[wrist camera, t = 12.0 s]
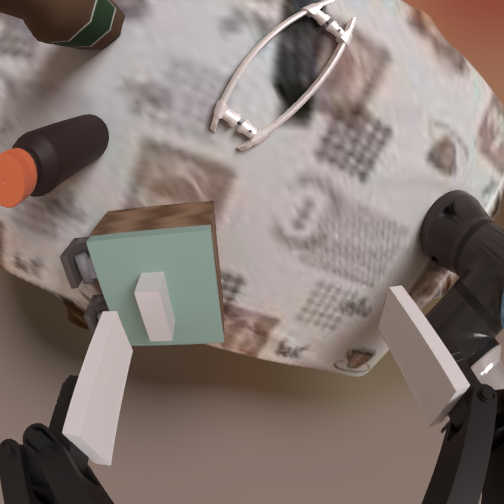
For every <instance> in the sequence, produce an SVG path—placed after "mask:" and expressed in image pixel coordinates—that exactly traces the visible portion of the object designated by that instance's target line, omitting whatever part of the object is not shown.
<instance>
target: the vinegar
mask: <svg viewBox="0 0 504 504" xmlns="http://www.w3.org/2000/svg"><path fill="white" fill-rule="evenodd" d="M108 140H109V133H108V129H107V126H106V124H105V123H104V122H103V121H102V119H100V118H99V117H97V116H95V115H90V114H88V115H82V116H78V117H74V118H71V119H67V120H64V121H60V122H57V123H54V124H51V125H48V126H44V127H41V128H38V129H35V130H33V131H30V132H27V133H25V134H24V135H22V136H21V137H19V138H18V140H17V141H16V142H15V144H14V145H13V147H12V149H10V150H7V151H5V152H3V153H1V154H0V205H2V206H4V207H7V208H8V207H10V208H11V207H14V206H16V205H18V204H19V203H20V202H22V201H23V200H24V199H26V198H27V197H28V196H33V197H36V196H43V195H45V194H47V193H49V192H50V191H52V190H53V189H54V188H56V187H57V186H58V185H60V184H61V183H63V182H64V181H65V180H67V179H68V178H69V177H71V176H72V175H74V174H75V173H76V172H78V171H79V170H81V169H82V168H84V167H85V166H87V165H88V164H90V163H91V162H93V161H94V160H96V159H97V158H99V157H100V156H101V155H102V154H103V153H104V151H105V149H106V147H107V145H108Z"/></svg>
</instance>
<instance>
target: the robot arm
mask: <svg viewBox="0 0 504 504" xmlns="http://www.w3.org/2000/svg"><path fill="white" fill-rule="evenodd" d="M421 247H422V250H423V253H424V254H425V256H426V257H427V258H428V259H429V260H430V261H431V262H432V263H433V264H435V265H437V266H439V267H441V268H444V269H446V270H449V271H451V272H453V273H456V274H457V275H458V276H459V277H460V278H459V279H458V280H457V281H456V282H455V284H454V285H453V286H452V287H451V288H450V289H449V291H448V292H447V293H446V294H445V295H444V296H443V297H442V299H441V300H440V301H439V302H438V303H437V304H436V305H435V306H434V307H433V308H432V309H431V310H430V311H429V313H427V315H426V316H424V315H423V313H422V312H421V311H420V309H419V308H418V307H417V305H416V304H415V302H414V301H413V300H412V298H411V297H410V296H409V294H408V293H407V292H406V290H405V289H404V288H403V286H402V285H401V286H394V287H389V289H388V293H387V297H386V301H385V304H384V308H383V311H382V315H381V318H380V322H379V325H378V329H379V331H380V333H381V334H382V336H383V338H384V340H385V342H386V343H387V345H388V347H389V349H390V350H391V353H392V354H393V356H394V358H395V360H396V362H397V364H398V366H399V368H400V370H401V372H402V374H403V376H404V378H405V380H406V382H407V384H408V385H409V387H410V389H411V391H412V393H413V396H414V398H415V399H416V402H417V404H418V405H419V408H420V410H421V412H422V414H423V416H424V418H425V420H426V423H427V425H428V427H430V426H433V425H435V424H438V423H440V422H442V421H443V420H444V419H445V417H446V416H447V415H449V417H450V420H449V422H448V423H447V424H446V425H445V426H444V427H443V428H442V430H441V433H443V432H444V431H445V430H446V433H445V437H444V440H443V444H442V447H441V451H440V454H439V457H438V460H437V464H436V466H435V470H434V472H433V475H432V478H431V481H430V483H429V486H428V489H427V491H426V494H425V496H424V499H423V502H422V504H478V502H479V499H480V495H481V492H482V500H481V504H504V366H503V365H502V363H501V361H500V353H501V346H500V344H499V343H498V342H497V340H496V339H495V337H496V336H497V335H498V333H499V332H500V331H501V330H502V329H504V229H503V228H502V227H501V226H499V225H498V224H496V223H495V222H494V221H492V220H491V219H490V217H489V216H488V214H487V213H486V211H485V210H484V209H483V207H482V206H481V204H480V203H479V202H478V200H477V199H476V198H475V197H473V196H472V195H470V194H468V193H467V192H465V191H461V190H455V191H451V192H449V193H447V194H445V195H443V196H442V197H441V198H439V199H438V200H437V201H436V202H435V204H434V205H433V206H432V207H431V209H430V210H429V212H428V214H427V216H426V218H425V220H424V223H423V226H422V230H421ZM132 352H133V350H132V348H131V345H130V343H129V341H128V338H127V336H126V333H125V331H124V328H123V326H122V323H121V321H120V318H119V315H118V313H117V311H103V312H102V315H101V317H100V320H99V322H98V325H97V327H96V330H95V332H94V335H93V338H92V340H91V343H90V346H89V349H88V351H87V354H86V357H85V360H84V362H83V365H82V368H81V371H80V374H79V376H72V375H70V376H69V377H68V378H67V379H66V381H65V382H64V383H63V385H62V388H61V391H60V396H59V397H58V400H57V404H56V406H55V409H54V413H53V416H52V419H51V422H50V426H49V429H48V428H47V427H46V426H44V425H43V424H41V423H35V424H32V425H30V426H29V427H28V428H27V429H26V430H25V432H24V435H23V445H19V444H18V443H17V442H16V441H14V440H12V439H6V440H4V441H3V442H2V443H1V444H0V479H1V486H2V492H3V498H4V503H5V504H114V503H113V501H112V500H111V499H110V497H109V496H108V494H107V493H106V491H105V490H104V488H103V487H102V485H101V484H100V482H99V481H98V479H97V478H96V476H95V475H94V473H93V471H92V470H91V468H90V467H89V466H88V464H87V463H88V459H91V460H92V461H93V462H94V463H97V464H104V465H111V462H112V454H113V448H114V441H115V436H116V430H117V424H118V418H119V413H120V408H121V403H122V398H123V392H124V387H125V383H126V378H127V374H128V369H129V365H130V360H131V356H132ZM446 428H447V429H446Z"/></svg>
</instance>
